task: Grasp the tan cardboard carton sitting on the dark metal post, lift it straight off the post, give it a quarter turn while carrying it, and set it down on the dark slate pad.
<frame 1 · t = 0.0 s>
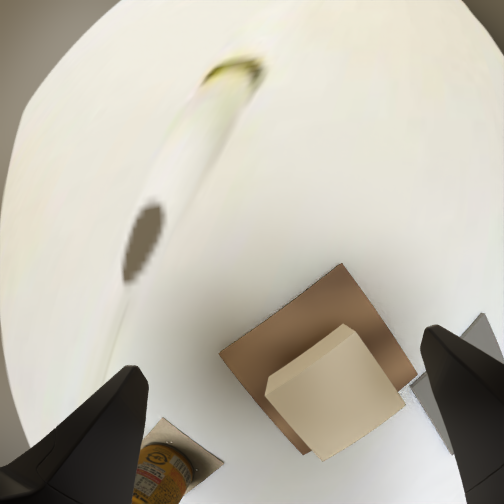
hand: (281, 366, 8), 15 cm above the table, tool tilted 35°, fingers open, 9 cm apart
condiment: (172, 460, 22), on the table
pad: (469, 389, 19), on the table
tan cardboard carton: (331, 384, 17), point 4 cm above the table, touching post base
post base: (323, 366, 22), on the table
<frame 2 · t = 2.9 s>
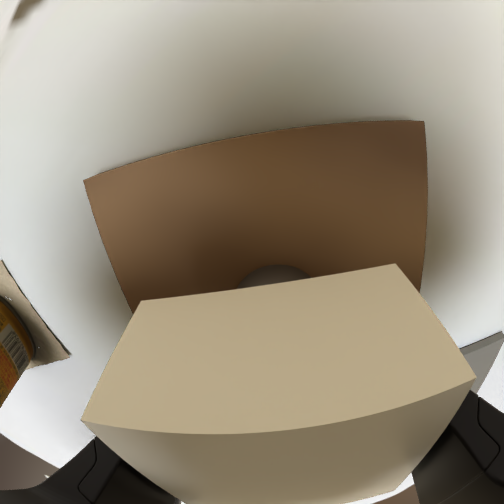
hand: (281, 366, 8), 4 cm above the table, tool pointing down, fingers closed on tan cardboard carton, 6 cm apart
condiment: (13, 322, 14), on the table
pad: (426, 405, 16), on the table
tan cardboard carton: (281, 373, 7), point 5 cm above the table, touching gripper, post base
post base: (275, 287, 12), on the table
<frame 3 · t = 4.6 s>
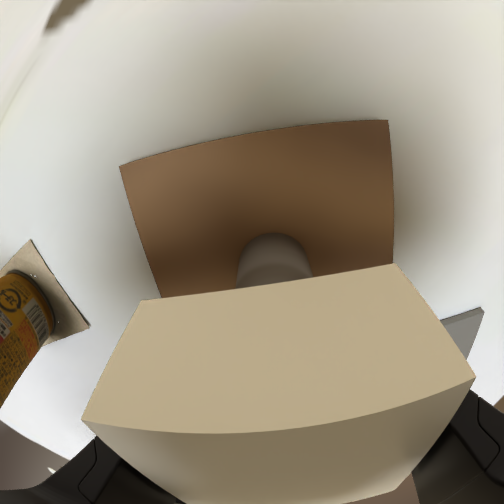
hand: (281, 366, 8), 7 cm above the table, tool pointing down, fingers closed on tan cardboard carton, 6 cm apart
condiment: (35, 299, 17), on the table
pad: (414, 377, 19), on the table
tan cardboard carton: (281, 373, 7), point 8 cm above the table, touching gripper
post base: (272, 255, 14), on the table
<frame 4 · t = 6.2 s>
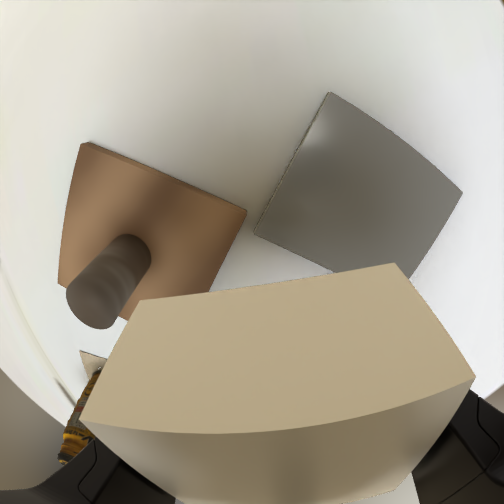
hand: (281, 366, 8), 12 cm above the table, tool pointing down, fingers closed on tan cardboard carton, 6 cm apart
condiment: (115, 381, 27), on the table
pad: (369, 206, 18), on the table
tan cardboard carton: (280, 373, 7), point 12 cm above the table, touching gripper
post base: (135, 249, 19), on the table
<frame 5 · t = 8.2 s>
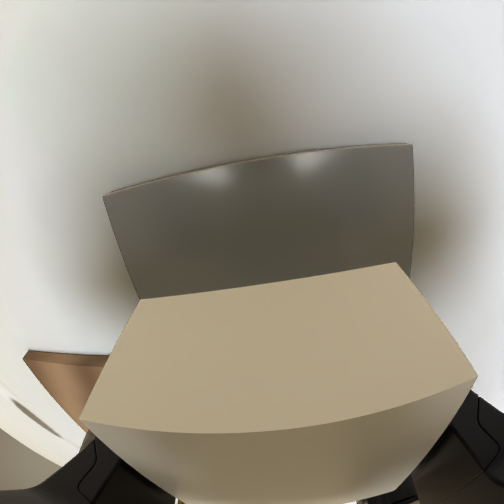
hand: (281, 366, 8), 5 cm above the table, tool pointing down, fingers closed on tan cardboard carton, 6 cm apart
pad: (274, 278, 12), on the table
tan cardboard carton: (281, 372, 7), point 5 cm above the table, touching gripper
post base: (119, 409, 18), on the table
when the fingers open (2 cm above the table, at t = 9.8 s): tan cardboard carton drops 1 cm, resting on pad.
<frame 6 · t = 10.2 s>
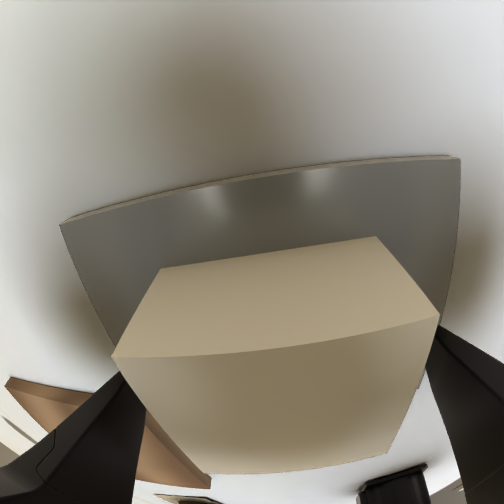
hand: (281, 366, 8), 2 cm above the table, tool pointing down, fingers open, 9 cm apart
condiment: (200, 503, 23), on the table
pad: (278, 325, 9), on the table
tan cardboard carton: (280, 337, 9), point 1 cm above the table, touching pad
post base: (108, 440, 15), on the table
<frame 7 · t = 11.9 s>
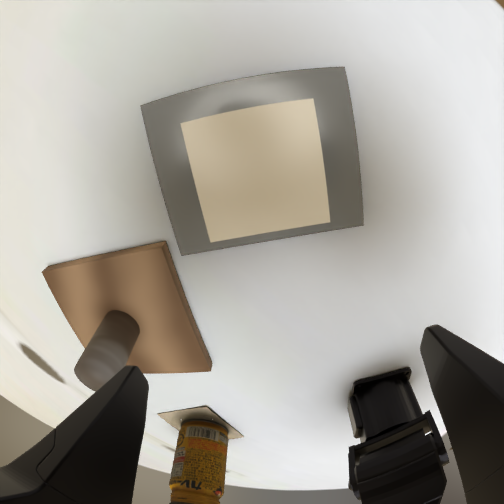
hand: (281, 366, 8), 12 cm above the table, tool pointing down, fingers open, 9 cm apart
condiment: (201, 424, 30), on the table
pad: (257, 160, 16), on the table
tan cardboard carton: (258, 161, 16), point 1 cm above the table, touching pad
post base: (126, 318, 22), on the table
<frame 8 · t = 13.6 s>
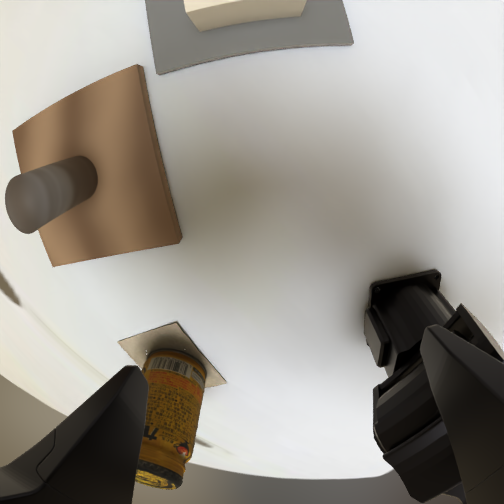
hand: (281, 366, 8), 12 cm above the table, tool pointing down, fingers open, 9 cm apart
condiment: (172, 361, 25), on the table
post base: (86, 175, 17), on the table
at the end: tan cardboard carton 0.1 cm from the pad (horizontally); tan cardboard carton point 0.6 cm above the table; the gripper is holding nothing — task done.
